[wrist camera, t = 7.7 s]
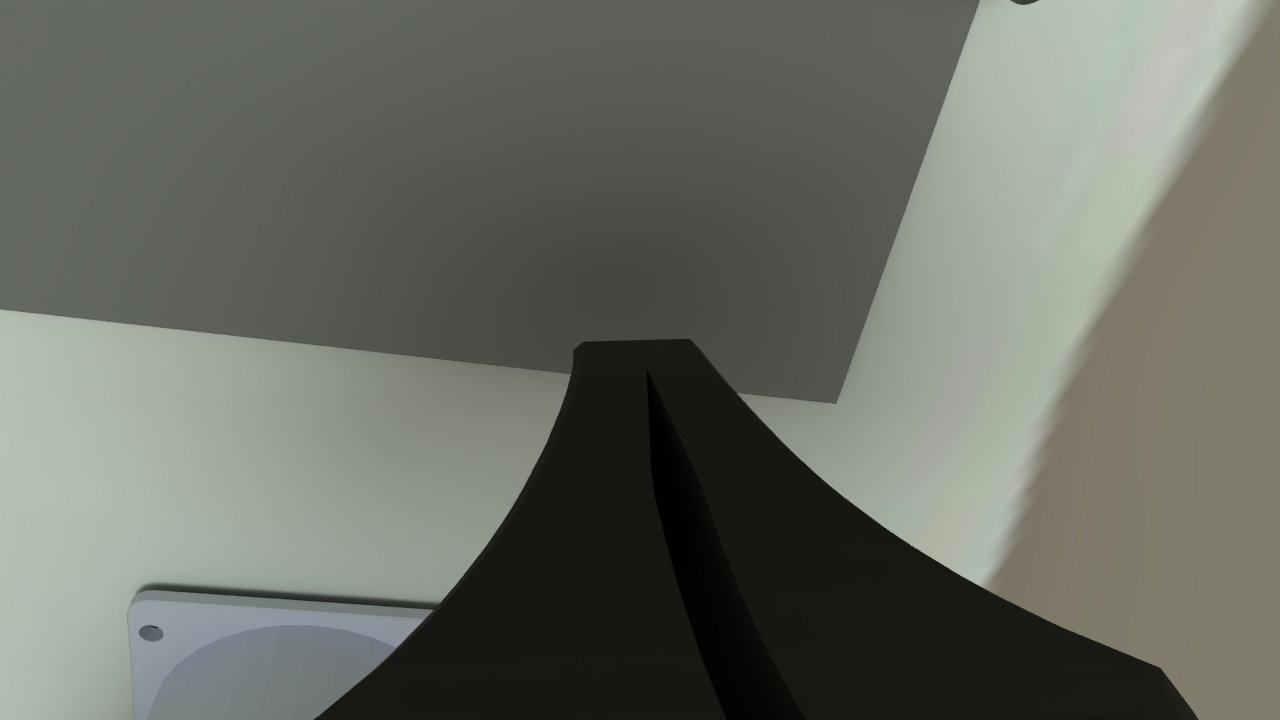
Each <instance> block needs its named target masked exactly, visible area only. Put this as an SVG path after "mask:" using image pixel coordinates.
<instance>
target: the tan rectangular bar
mask: <svg viewBox="0 0 1280 720" xmlns="http://www.w3.org/2000/svg"><path fill="white" fill-rule="evenodd" d="M1011 1H1012V2H1014V3H1016V4H1020V5H1026V4H1031V3H1034V2H1036V1H1038V0H1011Z"/></svg>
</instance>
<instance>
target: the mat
mask: <svg viewBox="0 0 1280 720" xmlns="http://www.w3.org/2000/svg"><path fill="white" fill-rule="evenodd" d="M979 1H980V0H0V309H2V310H11V311H20V312H29V313H38V314H47V315H55V316H64V317H73V318H82V319H91V320H100V321H108V322H117V323H126V324H135V325H144V326H153V327H162V328H170V329H179V330H188V331H197V332H206V333H215V334H223V335H232V336H241V337H250V338H259V339H268V340H276V341H285V342H294V343H303V344H312V345H321V346H330V347H338V348H347V349H356V350H365V351H374V352H383V353H391V354H400V355H409V356H418V357H427V358H436V359H444V360H453V361H462V362H471V363H480V364H489V365H497V366H506V367H515V368H524V369H533V370H542V371H551V372H559V373H568V374H571V373H572V367H573V350H574V349H575V348H576V347H578V346H579V345H580V344H581V343H582V342H586V341H622V340H657V339H691V340H692V341H693V342H694V343H695V344H696V345H697V346H698V347H699V349H700V350H701V351H702V352H703V353H704V355H705V356H706V357H707V358H708V360H709V361H710V362H711V363H712V365H713V366H714V367H715V368H716V369H717V371H718V372H719V373H720V374H721V375H722V377H723V378H724V379H725V380H726V381H727V383H728V384H729V385H730V386H731V387H732V388H733V390H734V391H735V392H736V393H745V394H754V395H763V396H772V397H780V398H789V399H798V400H807V401H816V402H825V403H833V404H836V403H837V400H838V397H839V394H840V391H841V388H842V386H843V383H844V380H845V377H846V374H847V372H848V369H849V366H850V363H851V360H852V358H853V355H854V352H855V349H856V346H857V344H858V341H859V338H860V335H861V332H862V330H863V327H864V324H865V321H866V318H867V316H868V313H869V310H870V307H871V304H872V302H873V299H874V296H875V293H876V290H877V287H878V285H879V282H880V279H881V276H882V273H883V271H884V268H885V265H886V262H887V259H888V257H889V254H890V251H891V248H892V245H893V243H894V240H895V237H896V234H897V231H898V229H899V226H900V223H901V220H902V217H903V215H904V212H905V209H906V206H907V203H908V201H909V198H910V195H911V192H912V189H913V186H914V184H915V181H916V178H917V175H918V172H919V170H920V167H921V164H922V161H923V158H924V156H925V153H926V150H927V147H928V144H929V142H930V139H931V136H932V133H933V130H934V128H935V125H936V122H937V119H938V116H939V114H940V111H941V108H942V105H943V102H944V100H945V97H946V94H947V91H948V88H949V86H950V83H951V80H952V77H953V74H954V71H955V69H956V66H957V63H958V60H959V57H960V55H961V52H962V49H963V46H964V43H965V41H966V38H967V35H968V32H969V29H970V27H971V24H972V21H973V18H974V15H975V13H976V10H977V7H978V4H979Z"/></svg>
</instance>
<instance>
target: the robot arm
mask: <svg viewBox="0 0 1280 720" xmlns="http://www.w3.org/2000/svg"><path fill="white" fill-rule="evenodd" d="M127 621H128V634H129V647H130V661H131V674H132V687H133V701H134V714H135V720H1198V718H1197V716H1196V715H1195V713H1194V712H1193V710H1192V709H1191V708H1190V706H1189V705H1188V704H1187V703H1186V701H1185V700H1184V698H1183V697H1182V696H1181V694H1180V693H1179V692H1178V690H1177V689H1176V688H1175V686H1174V685H1173V684H1172V683H1171V681H1170V680H1169V679H1168V677H1167V676H1166V675H1165V673H1164V672H1163V671H1162V669H1161V668H1159V667H1157V666H1154V665H1152V664H1149V663H1147V662H1144V661H1142V660H1140V659H1137V658H1135V657H1132V656H1130V655H1127V654H1125V653H1123V652H1120V651H1118V650H1115V649H1113V648H1111V647H1108V646H1105V645H1103V644H1101V643H1098V642H1096V641H1094V640H1091V639H1089V638H1086V637H1084V636H1081V635H1078V634H1076V633H1074V632H1072V631H1069V630H1067V629H1064V628H1062V627H1060V626H1058V625H1056V624H1053V623H1051V622H1049V621H1047V620H1045V619H1043V618H1041V617H1039V616H1037V615H1035V614H1033V613H1031V612H1028V611H1027V610H1025V609H1023V608H1021V607H1019V606H1017V605H1015V604H1013V603H1011V602H1009V601H1007V600H1005V599H1003V598H1001V597H999V596H997V595H995V594H993V593H991V592H989V591H987V590H986V589H984V588H982V587H980V586H978V585H976V584H975V583H973V582H971V581H969V580H967V579H966V578H964V577H962V576H960V575H958V574H957V573H955V572H953V571H952V570H950V569H949V568H947V567H945V566H944V565H942V564H940V563H939V562H937V561H936V560H934V559H932V558H931V557H929V556H927V555H926V554H924V553H922V552H921V551H919V550H918V549H916V548H914V547H913V546H911V545H910V544H908V543H907V542H905V541H904V540H902V539H901V538H899V537H898V536H896V535H895V534H893V533H892V532H890V531H889V530H887V529H886V528H884V527H883V526H882V525H880V524H879V523H878V522H876V521H875V520H874V519H872V518H871V517H870V516H868V515H867V514H866V513H864V512H863V511H862V510H860V509H859V508H858V507H856V506H855V505H854V504H852V503H851V502H850V501H848V500H847V499H845V498H844V497H843V496H842V495H840V494H839V493H838V492H837V491H836V490H834V489H833V488H832V487H831V486H829V485H828V484H827V483H826V482H825V481H823V480H822V479H821V478H820V477H819V476H818V475H817V474H816V473H815V472H813V471H812V470H811V469H810V468H809V467H808V466H807V465H806V464H805V463H803V462H802V461H801V460H800V459H799V458H798V457H797V456H796V455H795V454H794V453H793V452H792V451H791V450H790V449H789V448H788V447H787V446H786V445H785V444H784V443H783V442H782V441H781V440H780V439H779V438H778V437H777V436H776V435H775V434H774V433H773V432H772V431H771V430H770V429H769V428H768V427H767V426H766V425H765V424H764V423H763V421H762V420H761V419H760V418H759V417H758V416H757V415H756V414H755V413H754V412H753V411H752V410H751V409H750V408H749V407H748V405H747V404H746V403H745V402H744V401H743V400H742V399H741V398H740V396H739V395H738V394H737V393H736V392H735V391H734V390H733V388H732V387H731V386H730V385H729V384H728V383H727V381H726V380H725V379H724V378H723V377H722V375H721V374H720V373H719V372H718V371H717V369H716V368H715V367H714V366H713V365H712V363H711V362H710V361H709V360H708V358H707V357H706V356H705V355H704V353H703V352H702V351H701V350H700V349H699V347H698V346H697V345H696V344H695V343H694V342H693V341H692V340H691V339H657V340H622V341H586V342H582V343H581V344H580V345H579V346H578V347H576V348H575V349H574V350H573V367H572V373H571V377H570V381H569V385H568V389H567V392H566V395H565V398H564V401H563V404H562V407H561V409H560V412H559V414H558V417H557V419H556V422H555V424H554V427H553V429H552V431H551V434H550V436H549V439H548V441H547V443H546V445H545V448H544V450H543V452H542V454H541V456H540V457H539V459H538V461H537V463H536V465H535V467H534V469H533V471H532V473H531V475H530V477H529V478H528V480H527V482H526V484H525V486H524V488H523V490H522V492H521V493H520V495H519V497H518V498H517V500H516V502H515V503H514V505H513V507H512V508H511V510H510V511H509V513H508V515H507V516H506V518H505V519H504V521H503V522H502V524H501V525H500V527H499V528H498V530H497V531H496V533H495V534H494V535H493V537H492V538H491V540H490V541H489V543H488V544H487V546H486V547H485V548H484V550H483V551H482V552H481V554H480V555H479V556H478V557H477V559H476V560H475V561H474V562H473V564H472V565H471V566H470V568H469V569H468V570H467V571H466V573H465V574H464V575H463V577H462V578H461V579H460V580H459V582H458V583H457V584H456V585H455V587H454V588H453V589H452V590H451V591H450V592H449V594H448V595H447V596H446V597H445V598H444V599H443V600H442V602H441V603H440V604H439V605H438V606H437V607H436V608H435V609H434V610H428V609H414V608H400V607H385V606H371V605H357V604H343V603H329V602H314V601H300V600H286V599H272V598H257V597H243V596H229V595H215V594H201V593H186V592H172V591H158V590H150V591H143V592H141V593H138V594H137V595H136V596H135V597H134V598H133V599H132V601H131V603H130V606H129V608H128V612H127ZM148 625H153V626H157V627H158V628H157V629H156V628H152V627H150V626H148Z"/></svg>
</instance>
